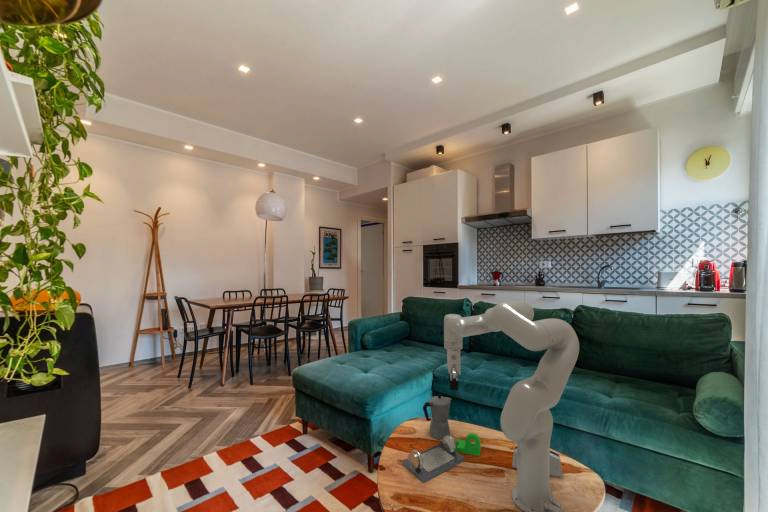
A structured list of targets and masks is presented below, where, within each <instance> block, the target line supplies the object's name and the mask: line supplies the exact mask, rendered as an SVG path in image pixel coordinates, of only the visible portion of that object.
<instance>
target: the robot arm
mask: <svg viewBox="0 0 768 512" xmlns="http://www.w3.org/2000/svg"><path fill="white" fill-rule="evenodd" d="M534 316H535V311H534V308H533V307H532V306H531V304H529V303H528V302H526V301H522V300H513V301H503V302H499V303H497V304H495V305H494V306H493V307H489V308H487V309H486V310H485V312H484V313H481V314H479V315H471V316H470V315H469V316H464V317H463V316H461V314H456V313H449V314H445V315H444V318H443V345H444V346H443V347H444V349H445V350H446V361H447V370H448V381H449V391H458V390H459V380H458V375H461V374H462V372H461V371H462V370H461V368H462V367H461V350H463V338H465V337H467V338H468V337H470V336H477V335H482V334H487V333H491V332H494V333H495V332H496V333H498V332H501V331H502V333H504V334H505V335H506V336H508V337H510V338H511V339H513V340H514V341H515V342H516V343H517V344H519V346H520V345H521V347H523V348H525V349H526V350H529V351H532V352H542V351H545V350H546V352H545V353H544V354H543V356H542V357H541V359H540V360H539V363H538V365H537V368H536V369H535V372H534V373H533V375H532V376H530V377H528V378H525V379H522V380H519V381H518V382H516V383H515V384H514V385H513V386H511V388H510V391H509V392H508V395H507V398H506V401H505V403H504V406H503V409H502V411H501V414H500V419H499V421H500V428H501V432H502V433H503V435H504V436H505V438H506V439H508V440H509V441H511V442H513V443H516V445H517V468H516V486H514V487H513V488H512V490H511V498H512V502H513V503H514V504H515V505H516V506H517V507H518V508H519V509H520V510H521V511H523V512H563V511H562V504H561V503H559V502H557V501H556V500H555V499H554V493H553V492H552V491H550V482H551V481H550V476H551V475H550V449H551V437H552V434H553V430H554V429H553V427H554V418H553V414H552V413H551V410H550V409H552V408H553V407H555V406H556V405H558V403H559V401H560V399H561V397H562V395H563V393H564V390H565V387H566V386H567V383H568V380H569V377H570V375H572V372H573V369H574V367H575V365H576V363H577V361H578V357H579V353H580V341H579V338H578V335H577V333H576V331H575V329H574V328H573V326H572V325H571V324H570V323H568V322H567V321H565V320H563V319H560V318H544V319H543V318H542V319H540V320H533V319H534Z"/></svg>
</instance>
